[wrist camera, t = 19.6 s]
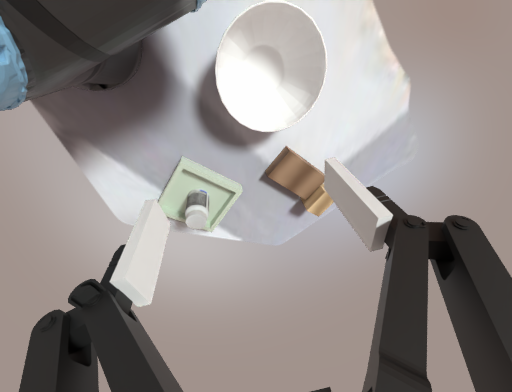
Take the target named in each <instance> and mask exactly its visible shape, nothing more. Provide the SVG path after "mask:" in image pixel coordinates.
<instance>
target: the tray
mask: <svg viewBox="0 0 512 392" xmlns="http://www.w3.org/2000/svg"><path fill="white" fill-rule="evenodd" d="M194 189H203V190H205V191H206V192H207V193H208V194H209V216H208V218H207V223H206V225H205V227H203V228H201V229H204V230H207V231H210V232H212V231H213V230H214V229H215V227H216V226H217V225H218V223H219V222H220V221H221V219H222V218H223V217H224V215H225V214H226V213H227V211H228V210H229V209H230V207H231V206H232V205H233V204H234V202H235V201H236V200H237V198H238V197H239V196H240V194H241V193H242V192H243V191H242V185H241V184H239V183H236V182H234V181H232V180H230V179H228V178H226V177H224V176H222V175H220V174H218V173H216V172H214V171H212V170H210V169H208V168H206V167H204V166H202V165H200V164H198V163H196V162H193V161H191V160H189V159H187V158H185V157H183V156H182V157H181V159H180V161H179V163H178V165H177V167H176V169H175V170H174V172H173V174H172V176H171V178H170V180H169V182H168V184H167V186H166V187H165V189H164V191H163V193H162V195H161V197H160V199H159V201H158V204H159V205H160V207H161V209H162V210H163V212H164V214H165V215H166V217H169V218H172V219H175V220H178V221H181V222H184V223H186V216H185V210H186V204H187V198H188V194H189V192H190V191H192V190H194Z"/></svg>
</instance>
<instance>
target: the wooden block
mask: <svg viewBox="0 0 512 392" xmlns="http://www.w3.org/2000/svg"><path fill="white" fill-rule="evenodd" d="M300 198H301V200H302V202H303V204H304V206H305V208H306V210H307V211H309V212H311V213H313V214H315V215H317V216H318V217H319V216H320V215H321V214H322V213H323V212H324V211H325V210H326V209H327V208H328V207H329V206H330V205H331V204H332V203H333V202H334V201H333V200H332V199H331V197H330V196H329V194H328V193H327V192H326V190H325V189H324V184H322V185H320V186H319V187H318V188H317V189H316V190H315V191H314V192H313V193H312V194H311V195H310V196H309V197H308V198H307V199H306V200H305V199H303V198H302V197H300Z"/></svg>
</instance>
